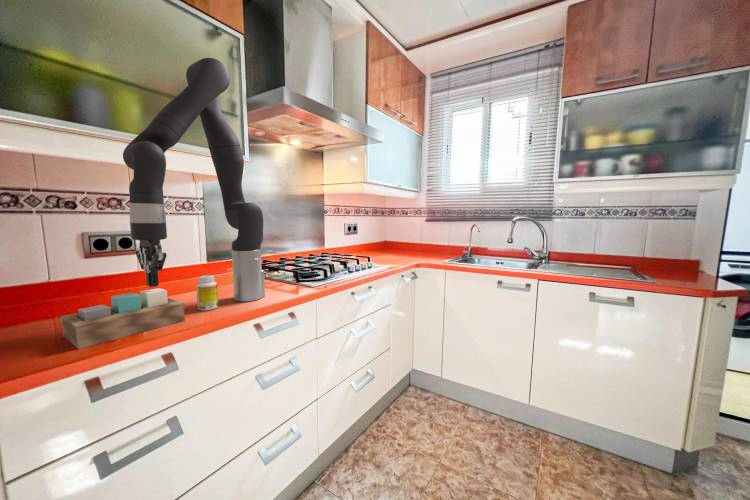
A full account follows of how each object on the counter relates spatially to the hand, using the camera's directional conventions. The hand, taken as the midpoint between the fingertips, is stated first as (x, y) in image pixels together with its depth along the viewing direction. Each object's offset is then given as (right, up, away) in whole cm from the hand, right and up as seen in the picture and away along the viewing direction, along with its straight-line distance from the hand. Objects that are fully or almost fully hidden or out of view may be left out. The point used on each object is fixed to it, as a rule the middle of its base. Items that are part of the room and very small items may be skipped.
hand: (152, 286), depth 79 cm
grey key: (-6, -8, -9) cm, 14 cm away
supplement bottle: (+8, -9, +13) cm, 17 cm away
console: (-3, -10, -4) cm, 11 cm away
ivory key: (0, -5, +1) cm, 5 cm away
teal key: (-3, -6, -4) cm, 8 cm away
